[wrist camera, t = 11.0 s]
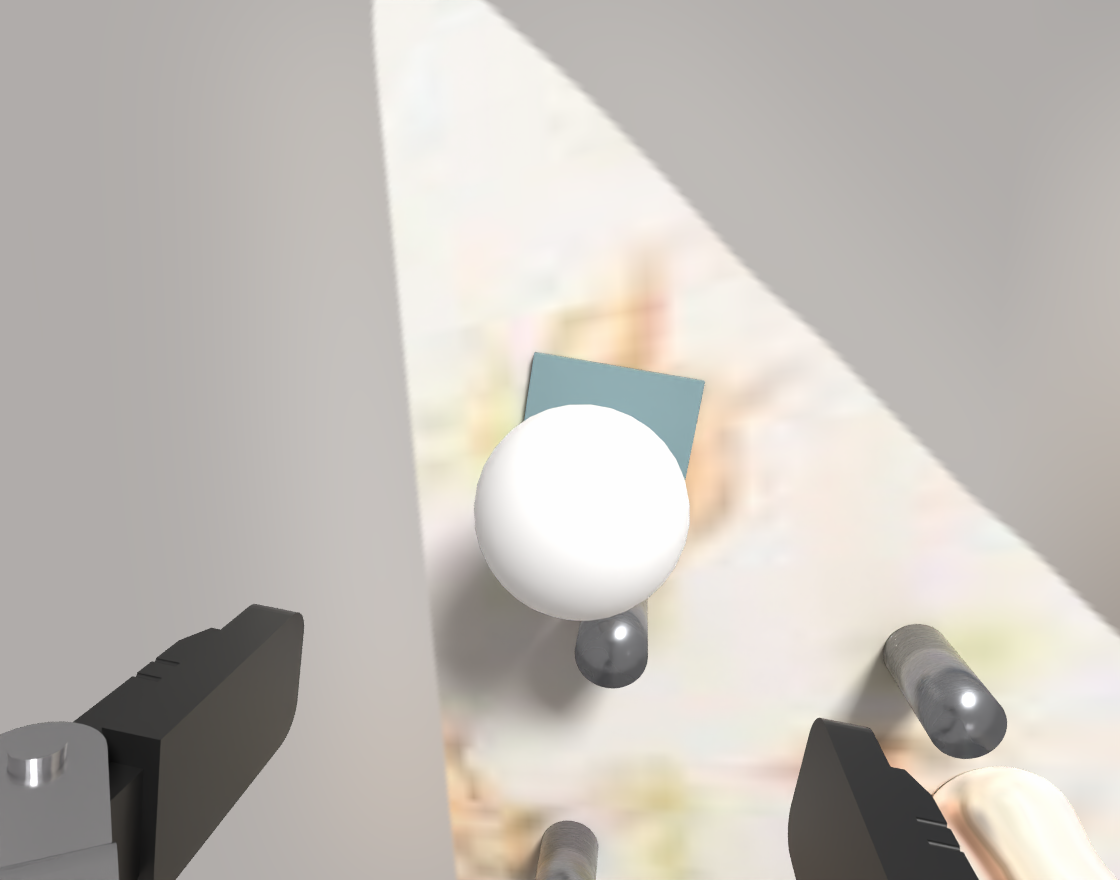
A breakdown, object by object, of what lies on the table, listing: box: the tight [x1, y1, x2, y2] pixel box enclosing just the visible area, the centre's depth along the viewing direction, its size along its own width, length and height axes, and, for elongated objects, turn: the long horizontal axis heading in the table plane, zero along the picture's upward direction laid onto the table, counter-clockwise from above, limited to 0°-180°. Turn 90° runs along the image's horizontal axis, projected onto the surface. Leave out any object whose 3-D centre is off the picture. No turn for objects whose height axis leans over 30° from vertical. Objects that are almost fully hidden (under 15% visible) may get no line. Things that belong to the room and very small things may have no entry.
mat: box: [524, 352, 705, 480], centre depth 30 cm, size 6×6×1 cm
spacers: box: [535, 599, 1007, 880], centre depth 30 cm, size 14×14×5 cm
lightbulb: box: [474, 404, 689, 621], centre depth 25 cm, size 6×6×11 cm
